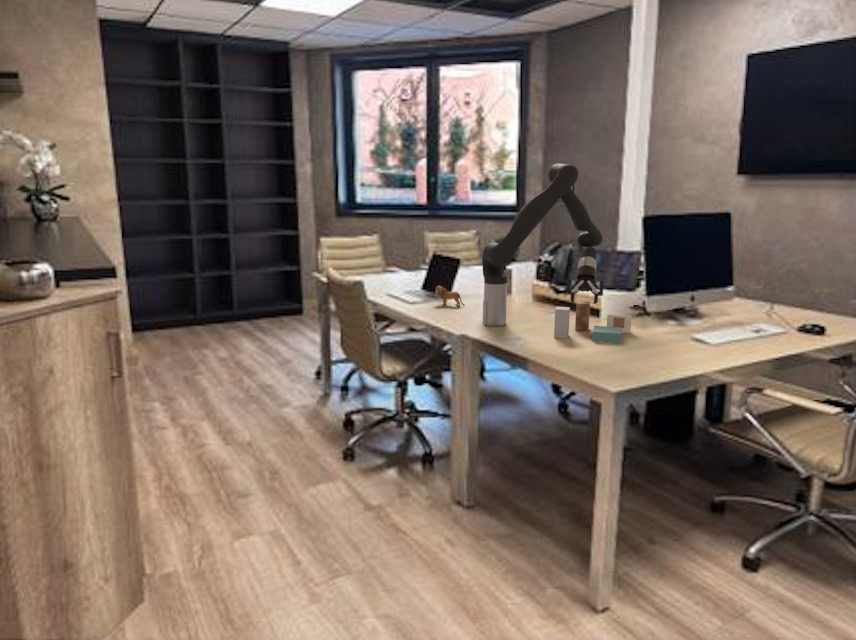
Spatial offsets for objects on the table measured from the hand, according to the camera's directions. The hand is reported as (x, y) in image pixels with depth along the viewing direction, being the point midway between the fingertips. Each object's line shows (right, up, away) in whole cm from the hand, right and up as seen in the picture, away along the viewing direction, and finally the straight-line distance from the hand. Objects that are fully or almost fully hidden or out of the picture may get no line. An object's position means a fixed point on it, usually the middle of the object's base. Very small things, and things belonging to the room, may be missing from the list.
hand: (583, 302), depth 258 cm
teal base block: (+5, -15, -17) cm, 23 cm away
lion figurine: (-53, 0, +45) cm, 69 cm away
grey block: (-12, -13, -13) cm, 22 cm away
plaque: (+12, -12, -7) cm, 18 cm away
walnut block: (-1, -11, -2) cm, 11 cm away
